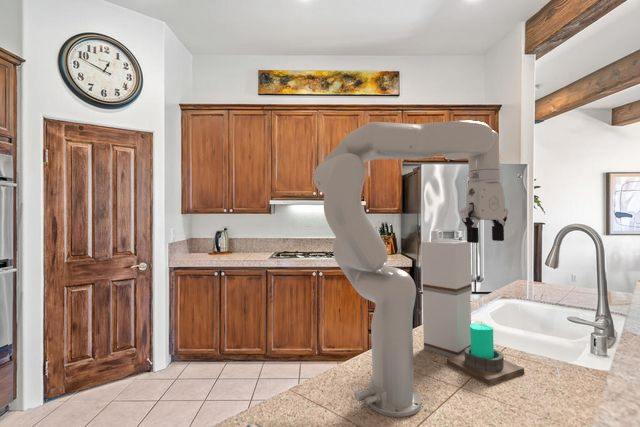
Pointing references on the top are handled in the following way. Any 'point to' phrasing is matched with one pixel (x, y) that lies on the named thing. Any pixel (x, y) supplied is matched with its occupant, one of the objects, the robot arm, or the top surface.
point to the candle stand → (485, 367)
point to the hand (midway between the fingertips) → (485, 241)
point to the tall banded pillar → (446, 296)
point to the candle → (482, 341)
